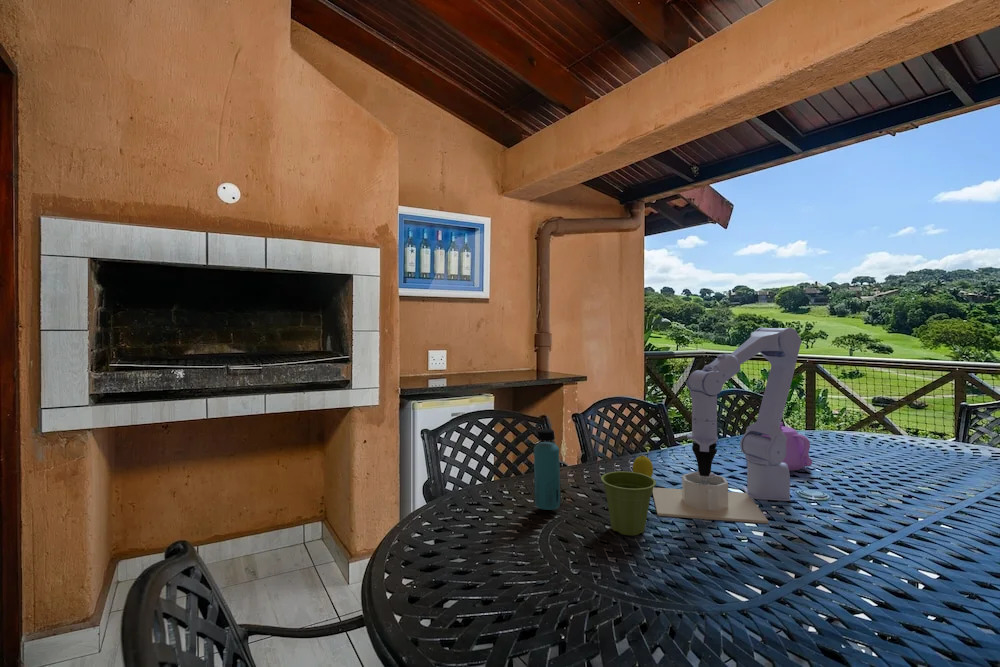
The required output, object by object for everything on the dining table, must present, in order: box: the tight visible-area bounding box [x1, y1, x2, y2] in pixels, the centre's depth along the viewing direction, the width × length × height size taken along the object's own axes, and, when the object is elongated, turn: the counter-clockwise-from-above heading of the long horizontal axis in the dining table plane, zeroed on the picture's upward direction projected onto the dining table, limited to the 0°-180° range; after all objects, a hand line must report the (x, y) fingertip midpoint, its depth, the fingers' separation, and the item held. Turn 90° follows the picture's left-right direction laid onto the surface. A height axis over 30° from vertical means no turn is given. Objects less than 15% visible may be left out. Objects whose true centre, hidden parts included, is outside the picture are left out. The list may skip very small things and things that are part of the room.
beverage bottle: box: [533, 428, 562, 511], centre depth 120 cm, size 6×7×20 cm
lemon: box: [632, 454, 654, 478], centre depth 139 cm, size 6×6×8 cm
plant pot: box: [600, 470, 657, 537], centre depth 109 cm, size 12×12×11 cm
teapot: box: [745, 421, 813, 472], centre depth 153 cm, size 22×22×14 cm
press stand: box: [652, 471, 770, 524], centre depth 122 cm, size 24×18×7 cm
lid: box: [694, 468, 716, 485], centre depth 122 cm, size 8×8×6 cm
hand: (704, 473), depth 122 cm, fingers closed on lid, 3 cm apart
